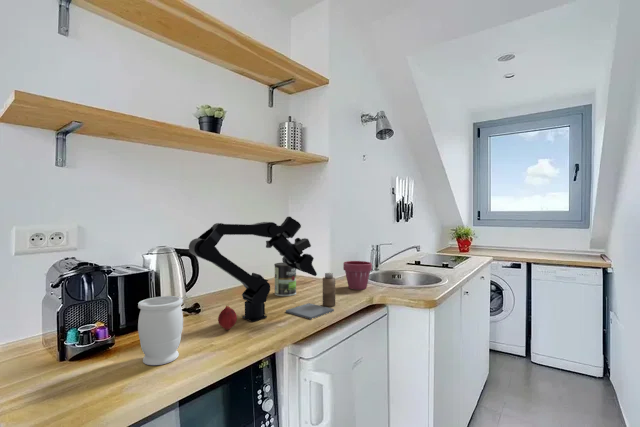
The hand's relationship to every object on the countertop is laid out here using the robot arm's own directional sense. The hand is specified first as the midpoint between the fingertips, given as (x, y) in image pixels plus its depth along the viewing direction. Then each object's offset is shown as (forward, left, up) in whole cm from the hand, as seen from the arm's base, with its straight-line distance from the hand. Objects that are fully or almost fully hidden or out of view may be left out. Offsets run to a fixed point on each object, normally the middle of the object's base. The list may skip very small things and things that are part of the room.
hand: (310, 273), depth 128 cm
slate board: (-4, -3, -14) cm, 15 cm away
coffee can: (+9, +25, -14) cm, 30 cm away
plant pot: (+41, +6, -14) cm, 44 cm away
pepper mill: (+7, -3, -14) cm, 16 cm away
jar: (-59, -1, -14) cm, 60 cm away
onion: (-36, +4, -14) cm, 38 cm away
